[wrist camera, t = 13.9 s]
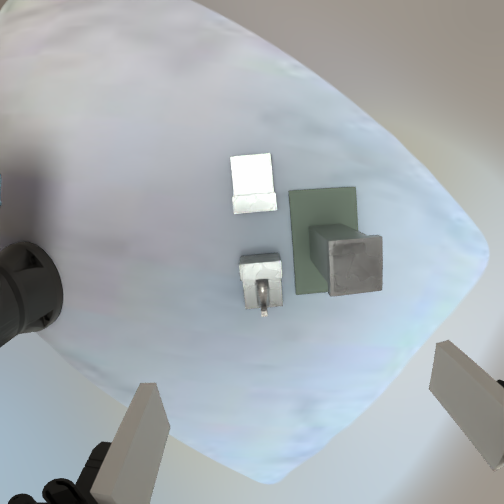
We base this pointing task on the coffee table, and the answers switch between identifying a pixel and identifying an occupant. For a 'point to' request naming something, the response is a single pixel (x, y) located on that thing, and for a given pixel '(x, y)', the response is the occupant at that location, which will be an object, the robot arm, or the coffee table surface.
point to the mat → (311, 214)
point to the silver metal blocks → (257, 200)
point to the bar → (346, 258)
